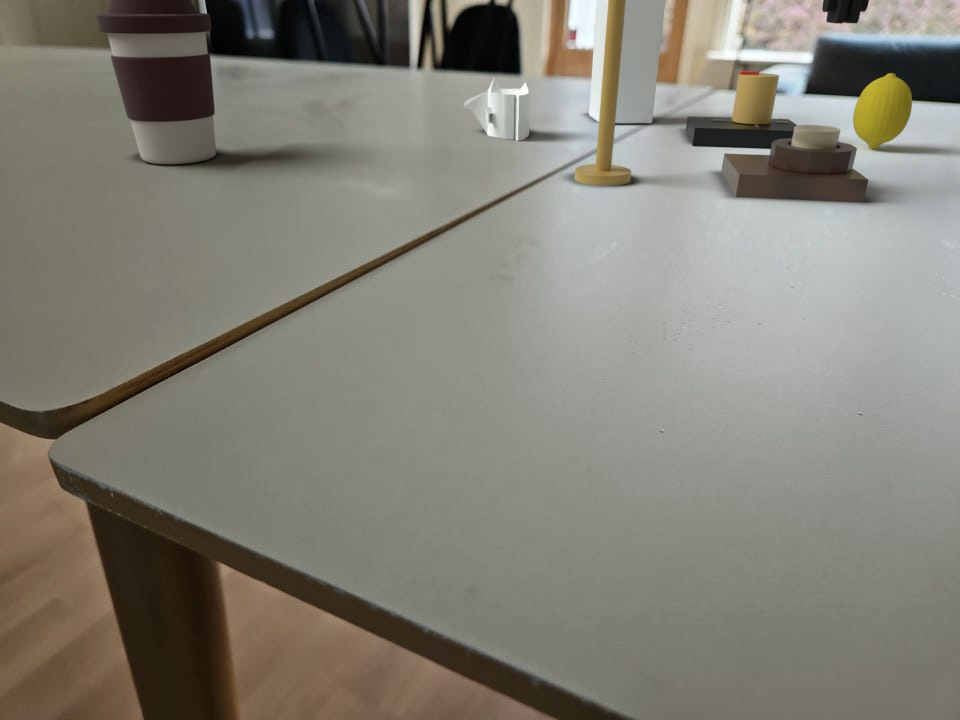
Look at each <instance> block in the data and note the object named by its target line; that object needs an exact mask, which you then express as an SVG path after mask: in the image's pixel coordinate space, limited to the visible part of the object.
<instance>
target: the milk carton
mask: <svg viewBox="0 0 960 720" xmlns="http://www.w3.org/2000/svg"><path fill="white" fill-rule="evenodd" d="M665 8H666V0H626V4H625V15H624V27H623V38H622V50H621V61H620V73H619V84H618V96H617V107H616V119H615V124H652V123H653V120H654V119H653V117H654V109H655V101H656V100H655V99H656V91H657V82H658V72H659V63H660V54H661V44H662V36H663V35H662V34H663V27H664V18H665V17H664V16H665ZM595 10H596V11H595V22H594V38H593V50H592V51H593V54H592V66H591V77H590V79H591V80H590V92H589V93H590V95H589V107H588V108H589V110H588V116H589V117H591V118H592V119H593V120H595V121H596V122H598V123H599V116H600V103H601V90H602V77H603V64H604V51H605V38H606V25H607V12H608V0H596V7H595Z"/></svg>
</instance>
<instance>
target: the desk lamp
mask: <svg viewBox="0 0 960 720" xmlns="http://www.w3.org/2000/svg"><path fill="white" fill-rule="evenodd" d="M625 4H626V0H608V12H607V25H606V38H605V51H604V64H603V77H602V90H601V103H600V116H599V122H598V130H597V142H596V155H595V156H596V157H595V163H591V164H589V163H588V164H583V165H578V166H576V168H575V169H574V180H575V181H576V182H578V183H581V184H584V185H590V186H598V187H599V186H600V187H601V186H602V187H612V186H613V187H616V186H622V185H623V186H624V185H627V184H629V183H631V179H632V170H631V169H630V168H628V167H625V166H622V165H616V164H613V153H614V152H613V150H614V139H615V131H616V123H615V119H616V107H617V96H618V84H619V73H620V61H621V50H622V38H623V27H624V15H625Z"/></svg>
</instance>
